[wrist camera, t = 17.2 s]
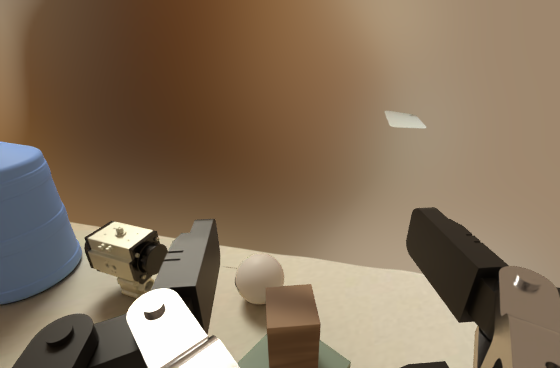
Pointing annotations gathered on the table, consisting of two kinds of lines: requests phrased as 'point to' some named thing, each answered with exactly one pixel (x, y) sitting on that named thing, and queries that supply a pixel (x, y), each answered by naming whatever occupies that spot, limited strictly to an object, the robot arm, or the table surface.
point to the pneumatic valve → (126, 255)
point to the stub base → (257, 358)
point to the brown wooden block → (292, 327)
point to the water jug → (31, 226)
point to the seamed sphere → (258, 277)
